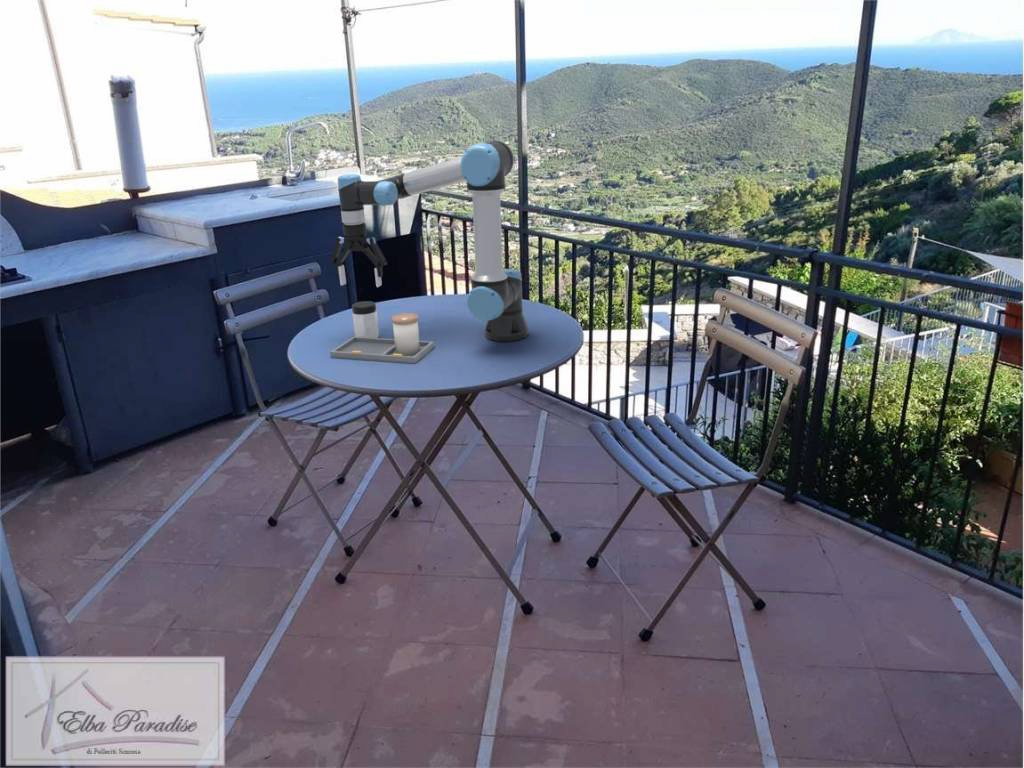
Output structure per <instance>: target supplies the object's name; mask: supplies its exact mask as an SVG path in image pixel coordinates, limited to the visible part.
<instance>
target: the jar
mask: <svg viewBox="0 0 1024 768" xmlns="http://www.w3.org/2000/svg"><path fill="white" fill-rule="evenodd" d="M376 305H377V303H376V302H374V301H370V300H369V301H367V300H365V301H357V302H355V303H353V304H352V305H351V309H352V310H351V311H352V314H351V315H352V320H353V321H352V322H353V331H354V337H367V338H379V335H380V329H379V321H378V320H379V319H378V311H377V310H378V309H377V306H376Z"/></svg>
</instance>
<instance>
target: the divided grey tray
mask: <svg viewBox="0 0 1024 768" xmlns="http://www.w3.org/2000/svg"><path fill="white" fill-rule="evenodd" d="M419 342H420V351H419V352H418V353H417V354H416V355H414V356H403V354H396V351H395V341H394V338H382V337H381V338H379V337H378V338H367V337H355V336H352V337H351V338H349V339H348V340H346V341H345V342H343V343H342V344H339V346H337V347H335V348H333V349H332V350H330V351H329V355H330V358H331V357H332V358H331V359H333V358H334V359H342V358H344V360H345V359H346V360H358V361H359V360H360V361H369V362H370V361H373V362H385V363H397V364H398V363H400V364H411V365H412V364H413V365H415V364H417V363H418V362H419V361H420V360H421V359H423V358H424V357H425V356H427V355H428V354H429V353H430V352H431V351H433V350H434V349H435V341H429V340H419Z"/></svg>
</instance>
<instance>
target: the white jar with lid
mask: <svg viewBox="0 0 1024 768" xmlns="http://www.w3.org/2000/svg"><path fill="white" fill-rule="evenodd" d="M418 321H419V315H418V314H417V313H414V312H402V313H397V314H394V315H392V316H391V322H392V328H393V329H392V330H393V339H394V341H395V351H396V354H403V356H414V355H416V354H417V353H418V352H419V351H420V342H419V341H420V333H419V322H418Z"/></svg>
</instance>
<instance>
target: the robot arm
mask: <svg viewBox="0 0 1024 768" xmlns="http://www.w3.org/2000/svg"><path fill="white" fill-rule="evenodd" d="M514 157H515V156H514V152H513V151H512V149H511V148H510V146H509V145H508V144H507V143H505V142H503V141H500V140H488V141H484V142H480V143H476V144H473V145H472V146H470V147H468V148H467V150H466V151H464V153H463V155H462V156H460V157H456V158H454V159H450V160H447V161H442V162H440V163H435V164H432V165H430V166H426V167H422V168H419V169H415V170H412V171H409V172H406V173H402V174H398V175H394V176H391V177H388V178H383V179H379V180H371V181H368V180H367V181H366V180H365V181H363V180H362V176H361V175H360V174H358V173H356V174H355V173H352V174H351V173H350V174H342V175H339V176H338V177H337V191H338V196H339V204H340V214H341V223H343V224H342V231H343V236H344V237H342V236H338V237H335V246H334V249H333V251H332V256H331V258H330V260H329V261H330V262H329V264H330V265H334V266H335V268H336V275H337V276H339V277H338V278H339V283H340V286H344V285H347V279H346V271H345V270H346V269H345V265H344V264H343V263H344V261H345V259H346V258H347V257H348V255H349V254H350V252H362V253H364V254H365V255H366V256H367V258H368V259H369V260H370V261H371V263H373V265H374V266H375V267H374V276H375V278H374V279H375V285H376V288H379V287H380V286H382V283H383V282H382V277H383V275H384V271H383V267H384V266H386V265H388V261H387V260H386V257H385V255H384V253H383V252H382V250H381V248H380V246H379V245H378V243H377V238H376V237H375V236H373V237H371V238H370V237H369V238H368V236H367V233H368V232H367V224H366V222H365V221H366V217H365V207H364V206H381V207H385V206H393V205H395V203H396V202H397V200H402V199H405V198H409V197H412V196H414V195H415V196H416V195H419V194H423V193H427V192H430V191H433V190H437V189H441V188H444V187H448V186H452V185H456V184H460V183H463V182H466V190H467V192H468V193H469V194H470V195H471V196H472V218H473V220H472V221H473V239H474V241H473V243H474V264H475V265H474V267H475V268H474V269H475V272H474V273H473V274H472V275H471V276H470V277H471V278H470V282H471V283H470V284H471V290H469V292H468V294H467V297H466V305H467V307H468V310H469V312H470V313H471V314H472V315H473V316H474V317H475V318H477V319H479V320H482V321H486V323H485V327H484V338H486V339H487V338H488V339H487V340H489V339H490V340H489V341H493V340H494V342H501V341H507V342H515V341H514V340H516V341H520V340H523V339H525V338H527V337H528V336H529V326H528V323H527V321H526V318H525V316H524V315H525V314H524V312H523V311H524V309H523V285H522V284H523V283H522V282H523V279H522V273H521V271H519V270H518V269H512V268H503V247H502V246H503V245H502V244H503V243H502V213H501V212H502V209H501V194H502V193H503V192H504V191H505V189H506V176H508V175H509V174H510V173H511V171H512V169H513V167H514V163H515V158H514ZM343 244H345V245H346V246H345V247H344V249H343V251H342V253H341V250H342V248H343ZM369 245H370V247H369ZM371 249H372V250H371ZM340 253H341V255H340ZM527 335H528V336H527ZM526 336H527V337H526ZM524 337H525V338H524ZM522 338H523V339H522ZM519 339H520V340H519Z"/></svg>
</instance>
